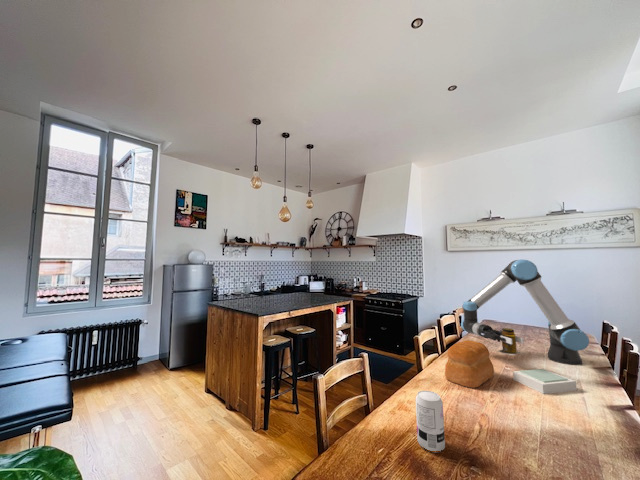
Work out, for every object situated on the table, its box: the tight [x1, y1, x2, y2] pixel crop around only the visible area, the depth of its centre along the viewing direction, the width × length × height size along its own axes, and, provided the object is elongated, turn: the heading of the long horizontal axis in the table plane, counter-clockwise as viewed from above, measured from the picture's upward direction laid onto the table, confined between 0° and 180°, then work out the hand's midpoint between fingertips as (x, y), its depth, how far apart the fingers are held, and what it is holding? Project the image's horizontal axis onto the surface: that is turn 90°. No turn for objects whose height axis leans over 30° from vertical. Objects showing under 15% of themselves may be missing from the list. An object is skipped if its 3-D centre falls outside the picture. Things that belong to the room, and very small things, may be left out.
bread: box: [444, 340, 495, 389], centre depth 135 cm, size 16×26×17 cm, turn 128°
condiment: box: [497, 327, 521, 356], centre depth 140 cm, size 7×8×12 cm
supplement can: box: [415, 390, 446, 452], centre depth 85 cm, size 8×8×15 cm
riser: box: [512, 368, 578, 395], centre depth 126 cm, size 18×15×5 cm
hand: (517, 341), depth 136 cm, fingers closed on condiment, 6 cm apart
